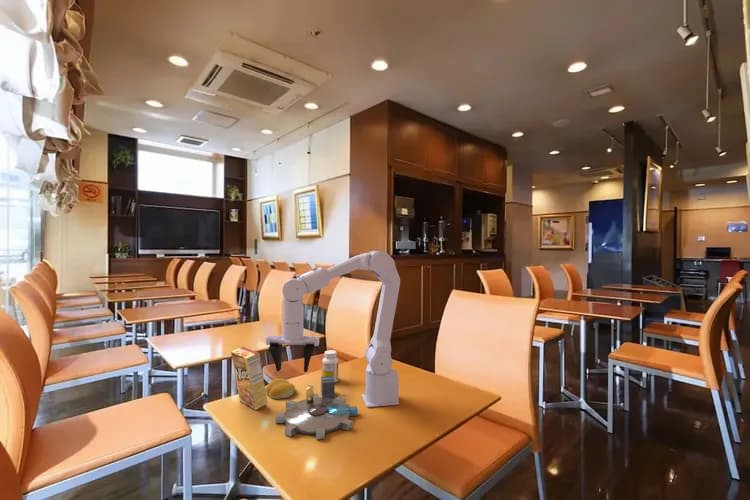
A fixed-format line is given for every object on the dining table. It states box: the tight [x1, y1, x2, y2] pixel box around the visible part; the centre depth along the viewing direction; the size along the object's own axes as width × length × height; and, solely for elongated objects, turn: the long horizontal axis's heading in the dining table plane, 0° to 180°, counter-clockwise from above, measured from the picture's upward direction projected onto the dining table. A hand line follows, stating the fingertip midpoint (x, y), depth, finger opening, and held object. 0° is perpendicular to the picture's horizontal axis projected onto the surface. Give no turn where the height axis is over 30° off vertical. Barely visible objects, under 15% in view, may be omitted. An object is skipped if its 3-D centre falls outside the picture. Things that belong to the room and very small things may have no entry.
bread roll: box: [265, 378, 296, 400], centre depth 108 cm, size 8×9×4 cm
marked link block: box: [320, 376, 336, 399], centre depth 106 cm, size 4×5×5 cm
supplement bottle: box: [321, 349, 339, 383], centre depth 118 cm, size 5×5×10 cm
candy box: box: [230, 346, 268, 411], centre depth 99 cm, size 9×4×15 cm, turn 50°
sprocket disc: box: [274, 385, 359, 440], centre depth 92 cm, size 21×21×6 cm
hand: (292, 370), depth 98 cm, fingers open, 7 cm apart
